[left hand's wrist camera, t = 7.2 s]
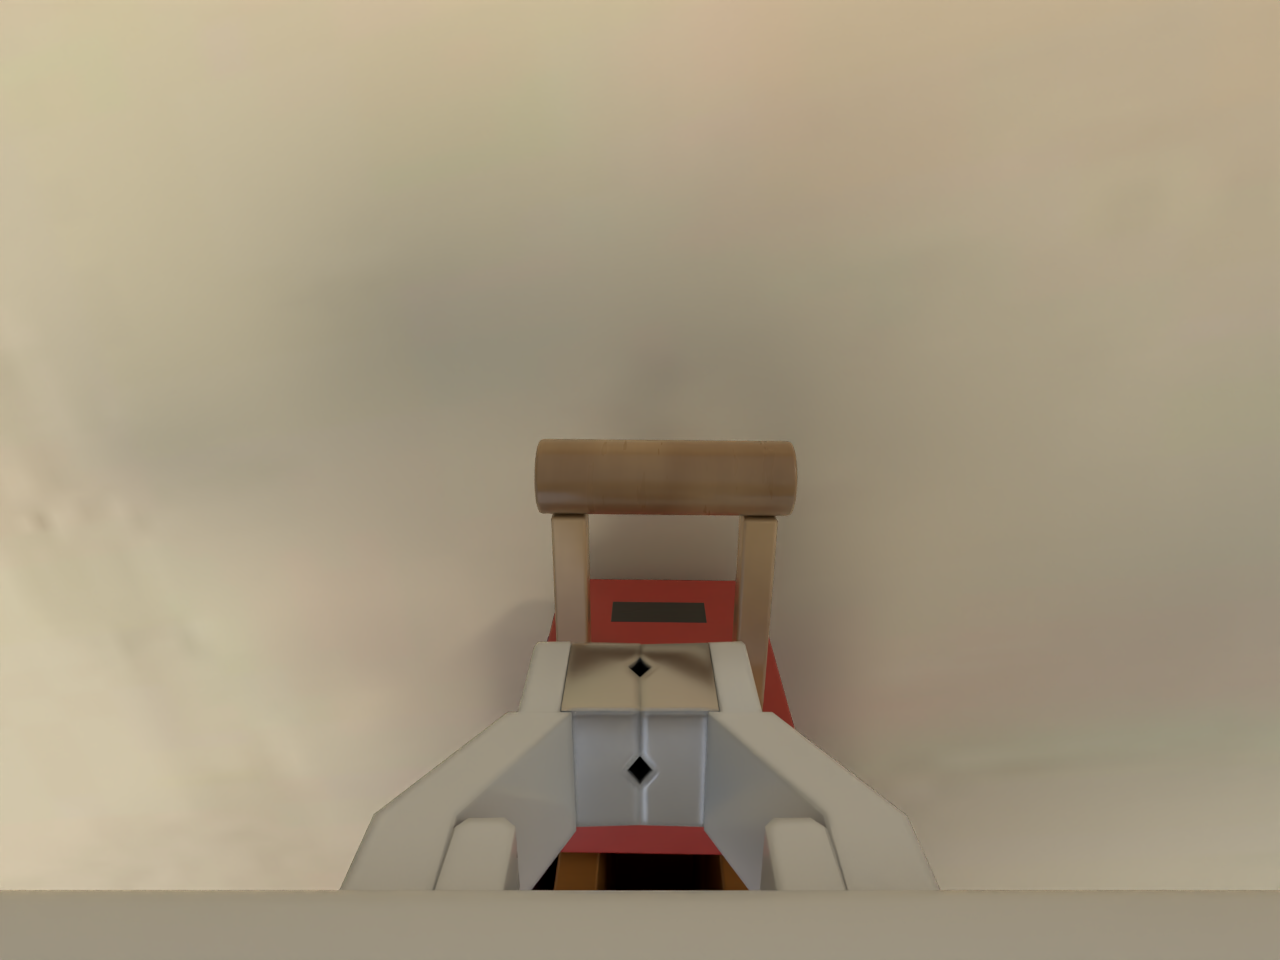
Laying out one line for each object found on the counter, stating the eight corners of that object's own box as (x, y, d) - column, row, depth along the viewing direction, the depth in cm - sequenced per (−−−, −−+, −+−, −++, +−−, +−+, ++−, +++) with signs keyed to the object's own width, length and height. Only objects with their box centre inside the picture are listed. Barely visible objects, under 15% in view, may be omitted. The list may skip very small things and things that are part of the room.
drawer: (555, 373, 17) (484, 488, 10) (767, 375, 17) (853, 491, 10) (579, 1034, 25) (551, 1359, 18) (722, 1037, 25) (751, 1363, 18)
